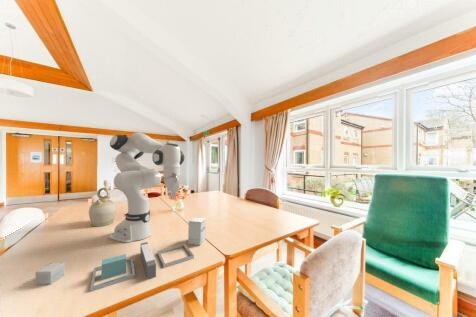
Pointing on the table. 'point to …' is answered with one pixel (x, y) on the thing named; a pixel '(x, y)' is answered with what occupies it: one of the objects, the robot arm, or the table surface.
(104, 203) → the jug
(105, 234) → the table surface
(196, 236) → the supplement box
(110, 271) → the teal rectangular block
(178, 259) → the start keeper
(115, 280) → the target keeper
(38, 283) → the small box
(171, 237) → the table surface
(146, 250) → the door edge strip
